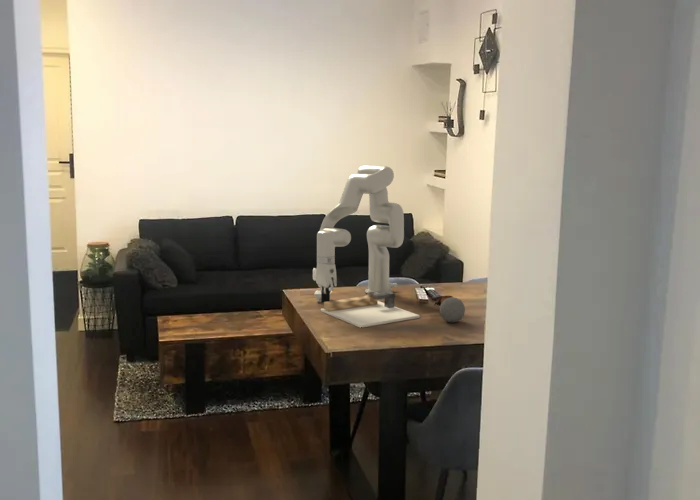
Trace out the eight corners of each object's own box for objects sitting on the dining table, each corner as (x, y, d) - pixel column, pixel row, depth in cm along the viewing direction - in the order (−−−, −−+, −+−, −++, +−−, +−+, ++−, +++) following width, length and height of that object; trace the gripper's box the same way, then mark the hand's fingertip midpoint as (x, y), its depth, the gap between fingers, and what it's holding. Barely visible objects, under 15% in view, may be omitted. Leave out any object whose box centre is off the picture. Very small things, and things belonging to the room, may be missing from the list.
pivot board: (377, 302, 333) (377, 300, 333) (419, 317, 308) (419, 315, 308) (320, 311, 317) (320, 308, 317) (360, 327, 292) (360, 325, 292)
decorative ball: (447, 317, 309) (448, 293, 307) (469, 321, 303) (470, 297, 301) (434, 322, 301) (435, 297, 300) (456, 326, 295) (456, 301, 293)
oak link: (372, 301, 330) (372, 289, 329) (380, 303, 325) (380, 292, 324) (322, 308, 316) (323, 296, 315) (329, 311, 312) (330, 299, 311)
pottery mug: (433, 315, 314) (431, 296, 317) (439, 320, 322) (438, 302, 325) (461, 310, 309) (458, 291, 312) (467, 316, 317) (465, 297, 320)
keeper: (390, 305, 324) (390, 291, 323) (394, 307, 321) (394, 293, 320) (373, 308, 319) (373, 294, 318) (377, 309, 316) (377, 295, 315)
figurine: (332, 302, 332) (333, 269, 330) (311, 301, 333) (311, 268, 331) (334, 298, 339) (334, 265, 337) (313, 298, 340) (313, 265, 338)
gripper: (342, 261, 314) (342, 305, 317) (324, 256, 326) (324, 297, 329) (327, 263, 310) (327, 307, 313) (309, 257, 322) (309, 299, 325)
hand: (325, 302), depth 321 cm, fingers closed
